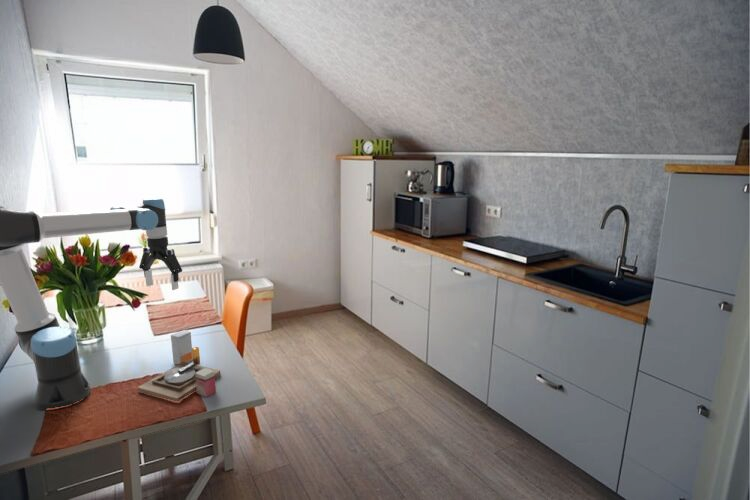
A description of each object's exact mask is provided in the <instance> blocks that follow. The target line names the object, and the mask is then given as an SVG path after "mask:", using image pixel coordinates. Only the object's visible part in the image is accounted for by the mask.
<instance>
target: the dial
mask: <svg viewBox="0 0 750 500" xmlns="http://www.w3.org/2000/svg"><path fill="white" fill-rule="evenodd" d="M200 355H201V354H200V347H198V346H195V347H192V356H193V360H192V362H189V363H190V364H188V365H187V366H185V367H178V368H175V369H172V370H170V371H168V372H167V373H166V374H165V375H164V379H165V383H167V384H171V385H175V386H176V385H182V384H185V383H187V382H188V381H190V380H191V379H193V378H195V369H194V368H192V367H194V366H196V365H199V366H200V364H201V357H200Z"/></svg>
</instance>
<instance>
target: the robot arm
mask: <svg viewBox="0 0 750 500" xmlns="http://www.w3.org/2000/svg"><path fill="white" fill-rule="evenodd" d="M166 219H167V218H166V206H165V202H164V199H163V198H161V197H147V198H144V199H142V203H141V204H140V203H139V204H132V205H131V204H130V205H129V204H128V205H116V206H112V207H110V209H108V210H106V209H105V210H89V211H74V212H73V211H72V212H69V211H68V212H56V213H55V212H53V213H38V212H37V211H35V210H32V211H31V210H29V211H26V210H25V211H24V210H22V211H21V210H19V211H18V210H11V209H8V208H5V207H4V206H1V205H0V285H1V288H2V290H3V293H4V295H5V298H6V299H7V302H8V304H9V306H10V308H11V311H12V313H13V315H14V317H15V320H16V322H17V324H16V325H15V326H14V331H15V334H16V337H17V339H18V340H17V341H18V346H19V347H20V350H22V352H23V353H25V354H26V355H27V356H28V357H29V358H30V359H31V360H32V361H33V364H34V368H35V373H36V377H37V386H36V390H35V396H34V405H35V408H36V409H37V410H40V411H44V410H46V409H47V408H55V407H61V406H66V405H70V404H73V403H75V402H77V401H80V400H81V399H83V398H85V397H86V396H87V395H88V394H89V393H90V394H91V387H90V386H91V385H90V383H89V382H88V380H87V379H86V377H85V375H84V374H83V372H82V370H81V369H82V368H81V362H80V356H79V350H78V345H77V342H78V341H77V340H78V339H77V337H76V335H75V331H73V329H71V328H70V327H66V326H61V325H60V323H59V321H58V318H57V316H56V314H55V313H51V312H49V310H48V308H47V307H46V304H45V301H44V299H43V295H42V293H41V291H40V289H39V286H38V285H37V282H36V280H35V277H34V275H33V273H32V269H31V267H30V265H29V263H28V260H27V258H26V257H27V256H26V255H25V252H24V250H23V247H24V245H25V244H26V245H27V244H32V243H33V244H34V243H40V242H41V241H42V240H43V239H48V238H49V239H50V238H60V237H71V236H81V235H92V234H101V233H102V234H103V233H104V234H105V233H113V232H122V231H123V232H124V231H138V230H142V231H145V233H146V234H145V235H146V237H147V238H146V242H147V243H146V245H147V246H146V247H143V248H142V249H143V250H142V256H141V260H140V263H139V268H138V269H139V270H140V269H141V270H143V273H144V274H143V275H144V278H145V286H146V287H150V286H153V285H154V282H153V281H154V280H153V273H152V268H151V267H152V266H153V264H154V262H155V261H156V260H159V261H161V262H162V263H164V264H165V265H166V267H167V268H168V269H169V271H170V281H171V283H170V284H171V290H172V291H175V290H178V289H179V280H180V277H179V273H182V272H183V268H182V266H181V265H180V263H179V260H178V258H177V256H176V254H175V249H174V248H172V249H168V246H169V240H168V230H167V228H168V227H167V220H166ZM90 394H89V395H90ZM89 395H88V396H89ZM88 396H87V397H88ZM87 397H86V398H87ZM86 398H85V399H86Z"/></svg>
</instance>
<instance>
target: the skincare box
mask: <svg viewBox="0 0 750 500" xmlns="http://www.w3.org/2000/svg"><path fill="white" fill-rule="evenodd" d="M170 341H171V351H172V360H173V364H175V365H178V364H180V363H182V362H186V363H190V362H191V361H192V362H193V356H192V348H193V345H192V344H193V343H192V333H191V331H189V330H186V329H183V330H181V331H178V332H175V333H172V334H171V335H170Z"/></svg>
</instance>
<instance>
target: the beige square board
mask: <svg viewBox="0 0 750 500" xmlns="http://www.w3.org/2000/svg"><path fill="white" fill-rule="evenodd" d="M190 363H191V362H187V363H186V362H182V363H180V364H178V365H177V364H175V366H173V367H171V368H169V369H167V370H166V371H164V372H161V373H160V374H159V375H157V376H155V377H153V378H151V379H150V380H148V381H146V382H145V383H142V384H141V385H139V386H137V392H138V391H140V392H143V393H146V394H150V395H154V396H158V397H162V398H166V399H170V400H174V401H179V400H180V399H182V398H184V397H185V396H187V395H189V394H190V393H192V392H194V391H196V390H197V389H196V377H195V378H193V379H191V380H190V381H188V382H187V383H185V384H182V385H176V386H175V385H171V384H167V383H165V379H164V375H165V374H166V373H167V372H168V371H170V370H172V369H175V368H178V367H185V366H187V365H188V364H190ZM192 368H194V369H195V373H196V372H198V371H199V370H201V369H204V368H207V369H210V370H212V371H214V372H215V380H217V379H218V378H220V377H221V376H220V375H221V370H218V369H216V368H215V369H214V368H211V367H207V366H202V365H200V364H199V365H196V366H194V367H192ZM217 377H218V378H217Z"/></svg>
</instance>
